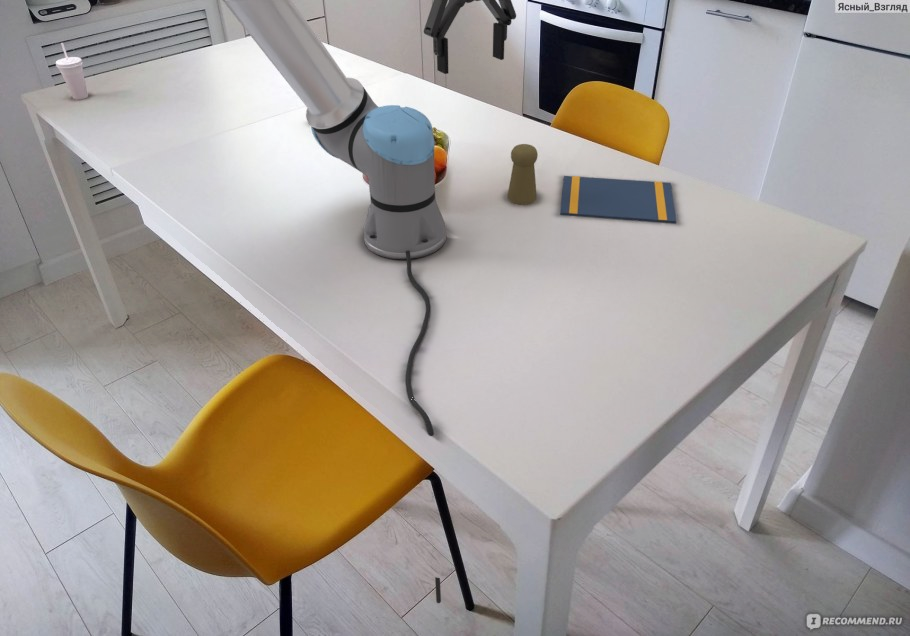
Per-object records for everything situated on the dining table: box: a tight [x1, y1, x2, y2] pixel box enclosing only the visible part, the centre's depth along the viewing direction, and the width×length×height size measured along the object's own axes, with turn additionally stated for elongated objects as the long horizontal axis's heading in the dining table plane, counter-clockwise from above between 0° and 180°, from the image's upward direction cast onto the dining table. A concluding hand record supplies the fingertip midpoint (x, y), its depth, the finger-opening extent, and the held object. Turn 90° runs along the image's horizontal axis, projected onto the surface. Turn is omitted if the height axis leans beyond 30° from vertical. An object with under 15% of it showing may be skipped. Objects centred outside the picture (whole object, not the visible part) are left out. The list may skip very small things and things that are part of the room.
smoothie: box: [55, 42, 89, 100], centre depth 188 cm, size 6×6×14 cm
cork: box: [506, 143, 539, 206], centre depth 142 cm, size 6×6×11 cm
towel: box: [559, 175, 677, 224], centre depth 144 cm, size 16×22×1 cm
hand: (471, 64), depth 141 cm, fingers open, 13 cm apart
